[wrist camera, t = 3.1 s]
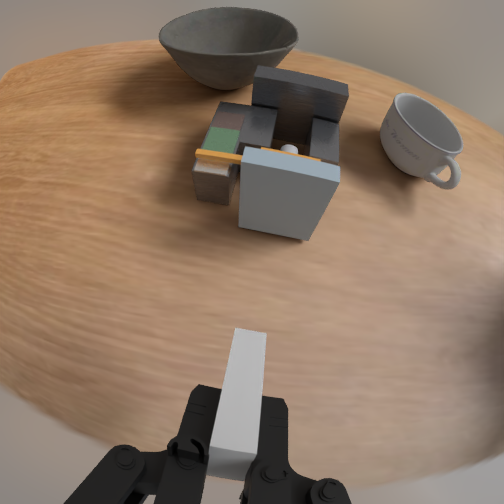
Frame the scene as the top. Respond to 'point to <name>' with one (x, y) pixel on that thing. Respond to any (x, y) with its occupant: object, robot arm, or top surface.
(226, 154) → the orange bar
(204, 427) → the robot arm
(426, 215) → the top surface
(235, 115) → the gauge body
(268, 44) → the bowl
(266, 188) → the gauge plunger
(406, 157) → the teacup
